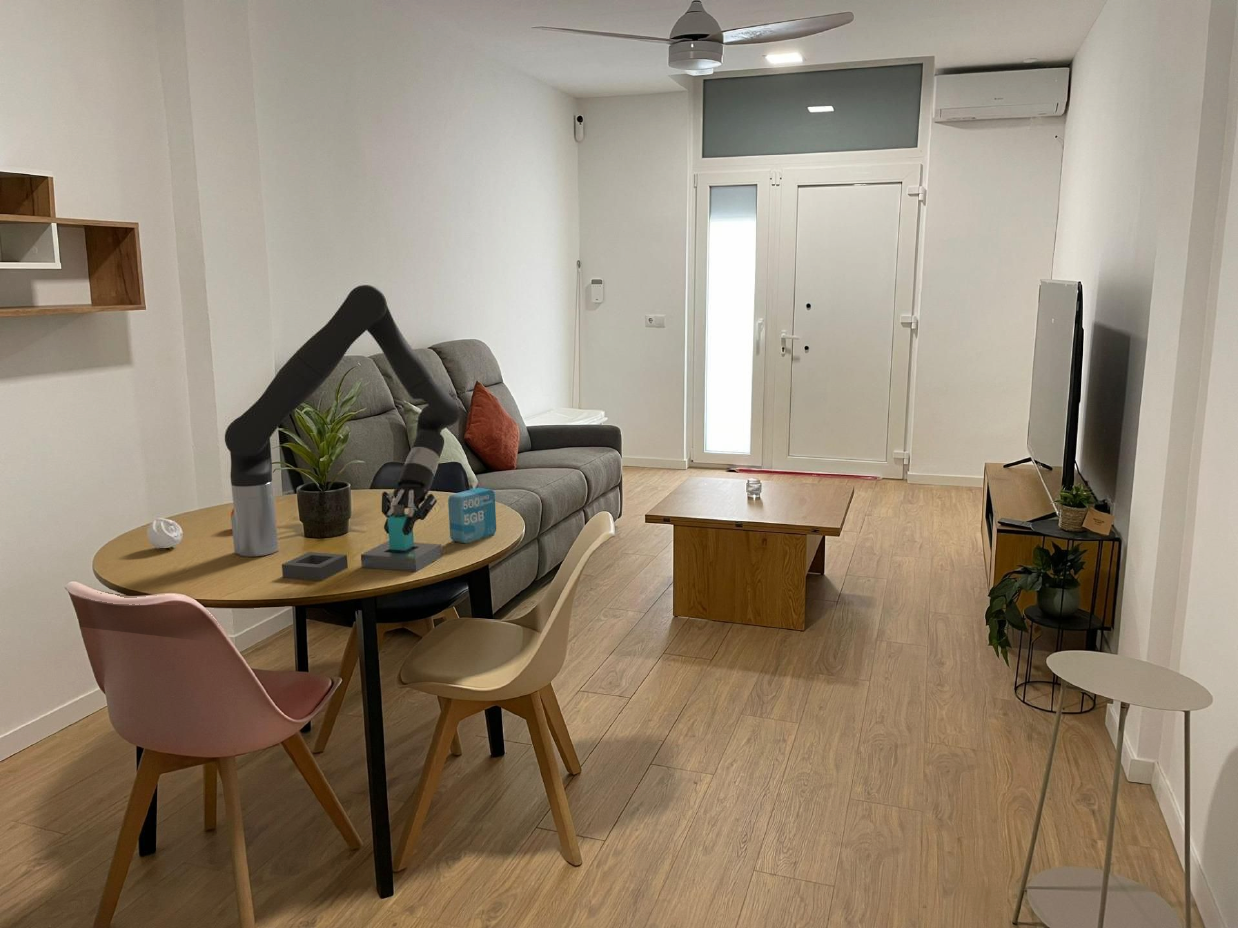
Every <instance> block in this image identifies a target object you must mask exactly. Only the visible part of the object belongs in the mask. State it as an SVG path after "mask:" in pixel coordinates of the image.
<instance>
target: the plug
mask: <svg viewBox="0 0 1238 928" xmlns="http://www.w3.org/2000/svg"><path fill="white" fill-rule="evenodd" d="M405 510H406V509H404V505H403V504H397V505H394V515H392V516H390V517H388V518H386V519H388V528H389V534H388V541H389V545H390V549H392V550H407V549H409V548H411V547H412V546H414V543H415V542H414V541H415V540H414V538H415V537H414V528H413V529H412V532H411V533H409V535H405V534H404V533H403V532H402V529H403V527H404V524H405V521H406V519H407V517H409V516H408V513H406V512H405Z"/></svg>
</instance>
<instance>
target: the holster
mask: <svg viewBox="0 0 1238 928" xmlns="http://www.w3.org/2000/svg"><path fill="white" fill-rule="evenodd" d="M346 569H348V554H339V553H337V554H336V553H329V552H328V553H327V552H315V551H314V552H313V551H308V552H306V553H304V554H302V555H300V556H297V557H295V558H292V559H290V560H288V561H286V562H284V563H282V564H281V572H282V578H284V579H285V577H286V579H295V578H300V579H299V580H306V579H308V581H317V580H320V582H322V581H324V580H326V579H329V578H330V577H332V576H334V575H336V574H339V572H342V571H344V570H346Z"/></svg>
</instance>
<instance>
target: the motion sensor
mask: <svg viewBox="0 0 1238 928" xmlns="http://www.w3.org/2000/svg"><path fill="white" fill-rule="evenodd" d="M146 535H147V539H148V540H149V543H151V545H152V546H153V547H154V548H156V547H157V548H156V549H159V548H164V547H171V546H175V545H176V546H177V545H179V543H181V541H182V540H183V529H182V528H181V526H180V525H179V524H178V523H177V522H176V521H174V520H171V519H167V518H163V517H158V518H157V519H155V520H153V521H152V522H151V523H150V524H149V526H148V527H147V531H146ZM176 546H175V547H176Z"/></svg>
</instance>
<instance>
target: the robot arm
mask: <svg viewBox="0 0 1238 928" xmlns="http://www.w3.org/2000/svg"><path fill="white" fill-rule="evenodd" d="M387 304H388V303H387V299H386V297H385V295H384V293H383V292H382V291H381V290H380V289H379V288H377V287H376V286H373V285H369V284H362V285H361V284H360V285H358V286H356V287H354V288H353V289H351V291H349V293H348V294H347V296H346V298H345V299H344V301H343V302H342V304H341V305H340V307H339V308H338V309H337V310H336V312H335V313H334V315H332V317H331V319H329V320H328V322H327V323H326V324H325V325H324V326H323V327H322V328H320V329H319V330H318V331H317V332H316V333H315V334H312V336H311V337H310V338H309V339H307V341H306V342H305V343H304V344H303V345H302V346H300V348H299V349H297V350H296V351H295V352H294V353H293V354H292V355H291V357H290V358H289V359H288V360H287V361H286V363H284V364H283V365H282V367H281V368H280V369H279V371H278V372H277V373H276V375H275V376H274V378H273V379H272V380H271V382H270V383H269V385H268V386H267V388H266V389H265V390H264V392H263V393H262V394H261V396H260V397H259V398H258V399H257V400H256V401H255V402H254V403H253V404H252V405H251V406H250V407H249V408H248V409H247V410H246V411H244V412H243V413H242V414H241V415H240V416H238V417H237V418H235V419H233V420H232V422H230V423H229V424H228V426H227V428H226V430H225V434H224V443H225V445H226V449H227V450H228V451H229V453H230V454H229V455H230V474H229V475H230V476H229V477H230V485H231V495H232V496H231V497H232V503H233V509H234V514H233V515H232V516H231V515H230V519H231V530H232V539H233V540H232V541H233V549H234V550H233V551H234V554H236V555H239V556H241V557H261V556H267V555H270V554H274V553H276V552H277V551H279V549H280V548H279V539H278V529H277V517H276V505H275V495H274V485H273V464H272V463H273V462H272V461H273V460H272V448H271V437H272V436H273V434H274V433H275V432H276V430H278V427H280V425H281V424H282V422H283V421H284V420H286V418H287V417H288V416H289V415H290V414H292V412H294V411H295V410H296V409H298V408H299V407H300V406H301V405H302V404H303V403H305V402H306V400H307V399H309V398H310V397H311V396H312V395H313V394H314V393H315V392H316V391H317V390H318V389H319V387H320V386H321V385H322V384H323V383H324V382H325V381H326V380H327V379H328V378H329V377H330V375H331V374H332V373H333V372H334V371H335V369H336V368H337V367H338V365H339V364H340V362H341V361H342V359H343V357H344V356H345V354H346V352H347V351H348V350H350V347H351V346H352V345H353V344H354V343H355V341H356V340H358V339H359V338H360V336H362V335H363V334H364V333H365V332H368V333H369V334H370V335H371V337H372V338H373V340H375V342H376V343H377V345H378V346H379V347H380V349H381V350H382V353H383V354H384V356H385V359H386V360H387V361H388V364H389V365H390V367H391V369H392V371H393V373H394V374H395V376H396V377H397V378H398V380H399V382H400V384H401V385H402V386H403V389H404V390H405V391H406V393H407V394H408V395H409V397H410V398H411V399H413V400H423V401H424V402H425V403H426V404H427V405H425V406H424V407H423V408H422V410H421V411H420V413H419V414H418V415H419V416H418V417H417V418H418V419H417V422H416V423H417V425H416V435H415V436H416V437H415V438H414V441H413V444H412V446H411V449H410V451H409V453H408V455H407V457H406V459H405V462H404V465H403V467H402V469H401V471H400V475H399V476H398V477H399V478H398V479H397V480H398V481H397V486H396V488H395V489H394V490H393V491H392V492H387V491H383V492H382V493H381V513H382V515H384V517H385V518H386V520H385V522H384V524H383V530H384V532H385V533H386V534H387V535H389V528H388V519H387V518H388V517H390V516H392V515H394V505H397V504H403V505H404V509H405V510H406V509H408V513H407V514H408V516H409V517H407V519H406V521H405V524H404V527H403V529H402V532H403V533H404V534H405V535H409V533H411V532H412V529H413V530H414V526H415V523H416V522H418V520H420V521H425V519H426V517H427V516H428V515H429V513H430V512H431V511H432V509H433V507H435V506H436V504H437V502H438V501H437V499H436V497H435V496H434V495H433V494H432V493H429V491H430V489H431V487H432V484H433V481H434V479H435V475H436V472H437V470H438V466H439V461H440V458H441V455H442V452H443V450H444V446H445V439H444V436H443V435H442V434H441V433H442V431H443V430H445V429H447V428H450V427H452V426H453V425H455V424H456V423H457V422H458V421H459V420H460V409H459V408H460V407H459V406H458V404H457V402H456V401H455V399H454V397H452V396H451V395H450V394H449V393H448V392H447V391H446V390H445V389H444V388H443V387H442V386H441V385H440V384H438V383H437V382H436V381H435V379H434V378H433V377H432V375H431V374H430V372H429V371H428V369H427V367H426V366H425V364H424V363H423V362H422V360H421V359H420V357H419V356H418V354H417V353H416V351H415V350H414V349H413V347H412V346H411V345H410V344H409V342H408V341H407V340H406V338H405V337H404V335H403V334H402V332H401V331H400V328H399V327H398V325H397V324H396V322H395V320H394V317H393V315H392V313H391V311H390V308H389V306H388V305H387Z"/></svg>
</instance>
